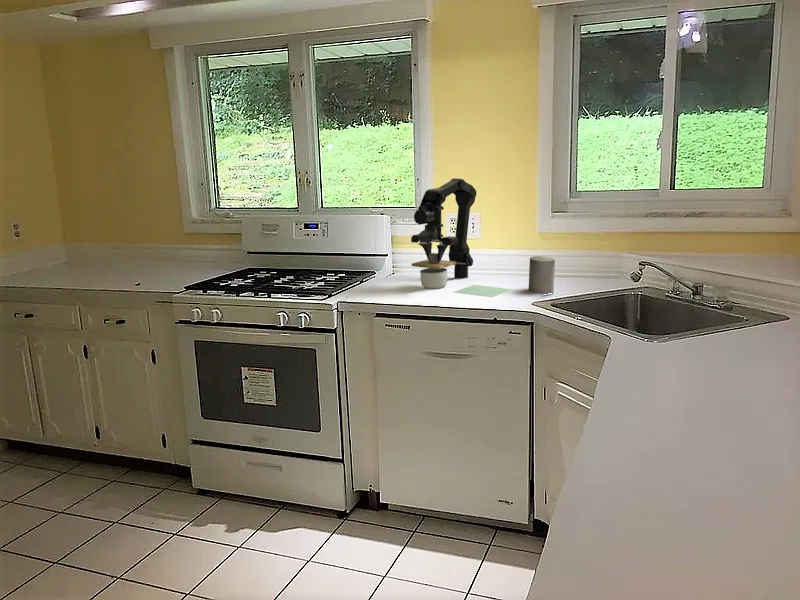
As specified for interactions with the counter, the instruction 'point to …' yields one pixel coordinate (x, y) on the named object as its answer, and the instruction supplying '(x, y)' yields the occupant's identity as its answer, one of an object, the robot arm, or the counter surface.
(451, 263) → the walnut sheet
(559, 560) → the counter surface
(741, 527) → the counter surface
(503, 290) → the sage mat
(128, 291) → the counter surface
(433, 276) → the teacup
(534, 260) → the pillar candle
